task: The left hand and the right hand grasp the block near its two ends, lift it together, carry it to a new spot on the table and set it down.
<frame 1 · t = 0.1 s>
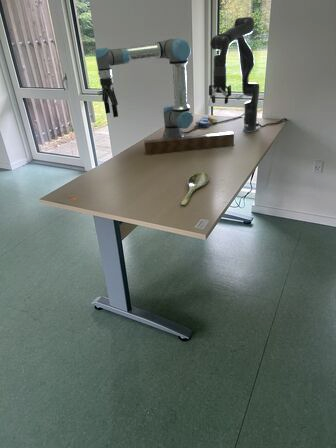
left hand: (111, 115, 206), 28 cm above the table, tool pointing down, fingers open, 13 cm apart
right hand: (219, 103, 205), 29 cm above the table, tool pointing down, fingers open, 8 cm apart
spray gun: (206, 124, 274), on the table
block: (189, 149, 225), on the table
spoon: (193, 190, 170), on the table
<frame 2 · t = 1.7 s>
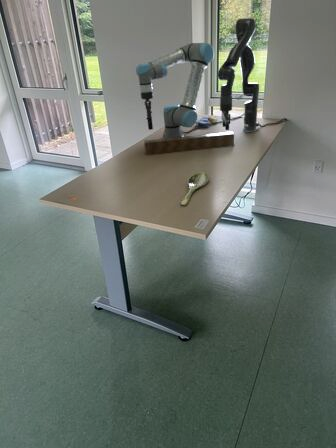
left hand: (150, 126, 215), 18 cm above the table, tool pointing down, fingers open, 13 cm apart
right hand: (225, 128, 219), 12 cm above the table, tool pointing down, fingers open, 8 cm apart
nothing on the table moved.
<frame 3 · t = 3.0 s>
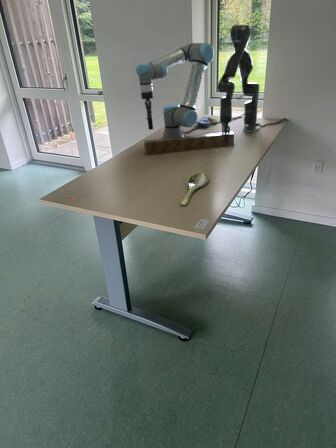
left hand: (150, 126, 215), 18 cm above the table, tool pointing down, fingers open, 13 cm apart
right hand: (225, 140, 223), 4 cm above the table, tool pointing down, fingers closed on block, 5 cm apart
block: (189, 149, 225), on the table, touching right hand
everything else where it was.
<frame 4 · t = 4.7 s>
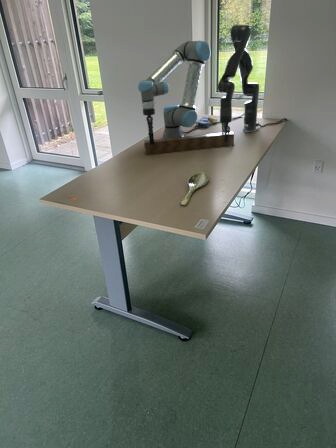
left hand: (151, 141, 219), 8 cm above the table, tool pointing down, fingers open, 13 cm apart
right hand: (225, 140, 223), 4 cm above the table, tool pointing down, fingers closed on block, 5 cm apart
block: (189, 149, 225), on the table, touching right hand
everything else where it was.
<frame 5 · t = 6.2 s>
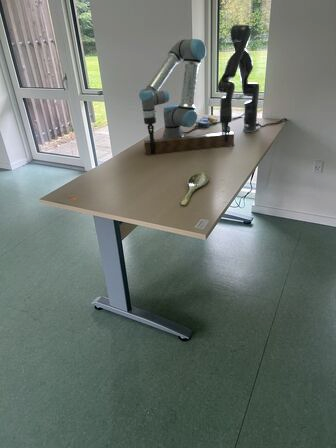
left hand: (153, 152, 224), 1 cm above the table, tool pointing down, fingers closed on block, 5 cm apart
right hand: (225, 140, 223), 4 cm above the table, tool pointing down, fingers closed on block, 5 cm apart
block: (189, 149, 225), on the table, touching left hand, right hand
everything else where it was.
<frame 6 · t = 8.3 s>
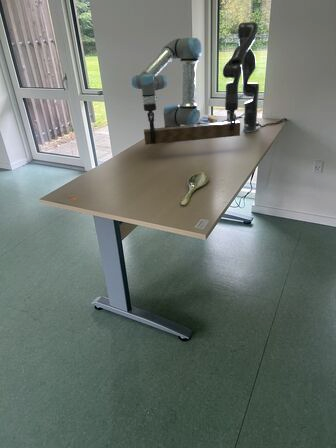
left hand: (153, 141, 208), 11 cm above the table, tool pointing down, fingers closed on block, 5 cm apart
right hand: (231, 129, 208), 14 cm above the table, tool pointing down, fingers closed on block, 5 cm apart
block: (192, 139, 209), point 10 cm above the table, touching left hand, right hand
everything else where it was.
when the left hand's fingers open (2 cm above the table, at t = 10.7 s): block drops 1 cm, on the table.
when the right hand's fingers open (5 cm above the table, at t = 10.9 s): block stays where it is, on the table.
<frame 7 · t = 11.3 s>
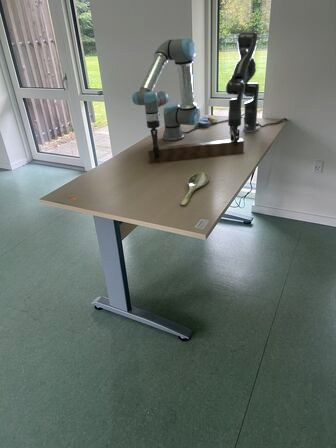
left hand: (156, 154, 208), 4 cm above the table, tool pointing down, fingers open, 13 cm apart
right hand: (234, 143, 208), 6 cm above the table, tool pointing down, fingers open, 8 cm apart
block: (196, 157, 211), on the table
everything else where it was.
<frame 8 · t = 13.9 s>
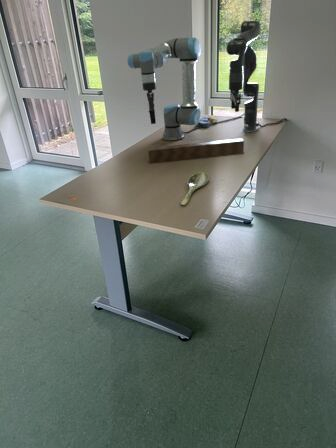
left hand: (152, 120, 197), 25 cm above the table, tool pointing down, fingers open, 13 cm apart
right hand: (235, 110, 197), 27 cm above the table, tool pointing down, fingers open, 8 cm apart
nothing on the table moved.
at the end: block inside the target area (0.5 cm from its centre), on the table; block tilted 0°; block never tilted more than 2° during the clip; both hands held the block at the same time; the left hand is holding nothing; the right hand is holding nothing; block at rest at the end (0.0 cm/s) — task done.
